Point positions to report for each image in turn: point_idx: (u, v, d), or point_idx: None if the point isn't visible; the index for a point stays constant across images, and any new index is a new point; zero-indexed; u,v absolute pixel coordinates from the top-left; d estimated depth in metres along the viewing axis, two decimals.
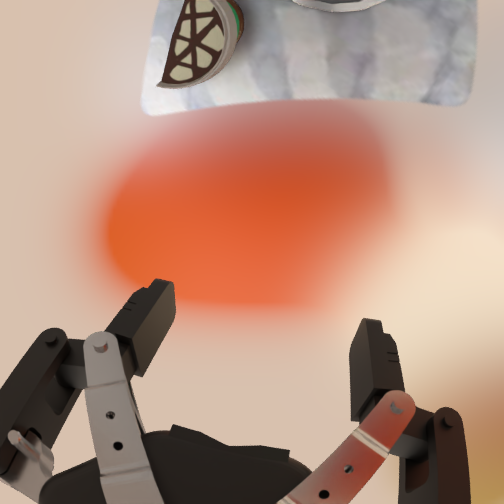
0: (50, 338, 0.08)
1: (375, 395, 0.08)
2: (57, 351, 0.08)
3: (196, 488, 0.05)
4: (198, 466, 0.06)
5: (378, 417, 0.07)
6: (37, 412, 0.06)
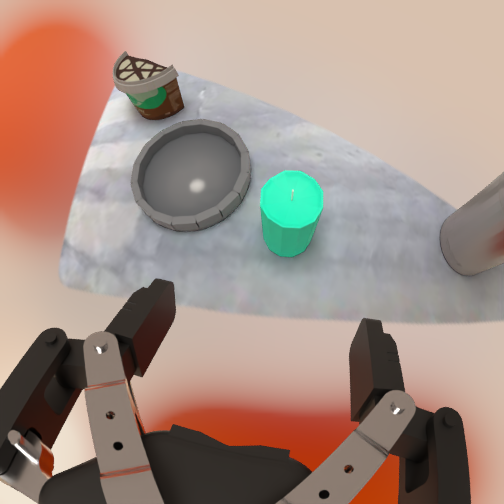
0: (50, 337, 0.08)
1: (375, 395, 0.08)
2: (57, 351, 0.08)
3: (196, 488, 0.05)
4: (198, 466, 0.06)
5: (378, 417, 0.07)
6: (37, 412, 0.06)
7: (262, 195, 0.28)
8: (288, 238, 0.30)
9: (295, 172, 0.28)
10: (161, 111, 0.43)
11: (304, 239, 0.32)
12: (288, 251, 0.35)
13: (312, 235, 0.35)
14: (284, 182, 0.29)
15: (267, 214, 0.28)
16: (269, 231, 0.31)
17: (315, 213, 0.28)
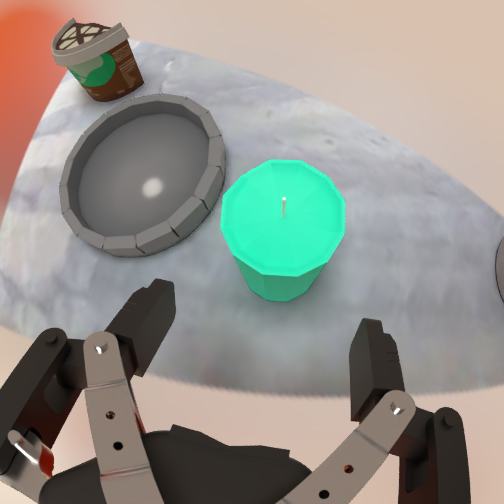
0: (50, 338, 0.08)
1: (375, 395, 0.08)
2: (57, 351, 0.08)
3: (196, 488, 0.05)
4: (198, 466, 0.06)
5: (378, 417, 0.07)
6: (37, 412, 0.06)
7: (225, 208, 0.15)
8: (276, 286, 0.17)
9: (291, 163, 0.15)
10: (112, 89, 0.29)
11: (306, 284, 0.18)
12: (278, 297, 0.21)
13: None
14: (269, 182, 0.15)
15: (232, 247, 0.14)
16: (242, 272, 0.17)
17: (330, 244, 0.14)
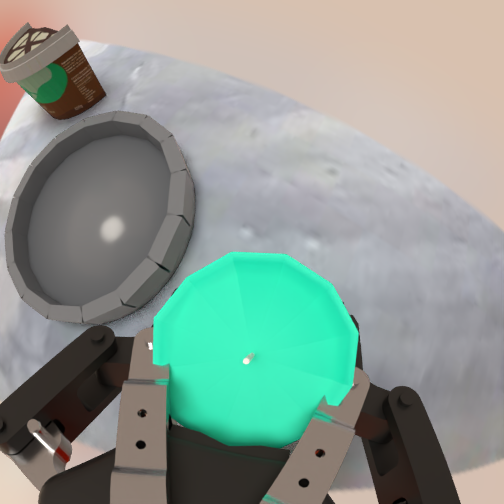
0: (97, 336, 0.09)
1: None
2: (106, 349, 0.08)
3: (196, 488, 0.05)
4: (198, 466, 0.06)
5: None
6: (66, 406, 0.07)
7: (158, 338, 0.08)
8: None
9: (268, 259, 0.09)
10: (67, 104, 0.23)
11: None
12: None
13: None
14: (232, 291, 0.09)
15: None
16: None
17: (327, 403, 0.08)
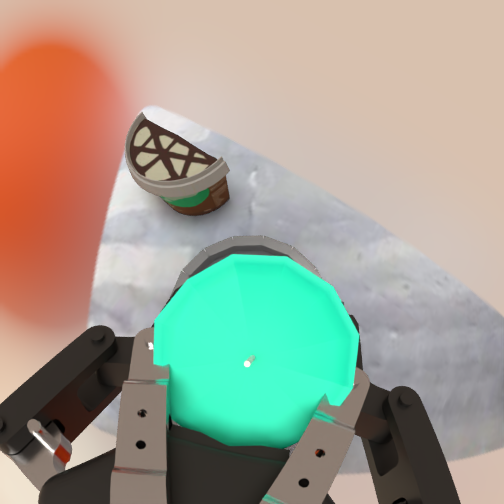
0: (97, 336, 0.09)
1: None
2: (106, 349, 0.08)
3: (196, 488, 0.05)
4: (198, 466, 0.06)
5: None
6: (66, 406, 0.07)
7: (159, 341, 0.08)
8: None
9: (268, 262, 0.09)
10: (199, 209, 0.34)
11: None
12: None
13: None
14: (232, 294, 0.09)
15: None
16: None
17: None
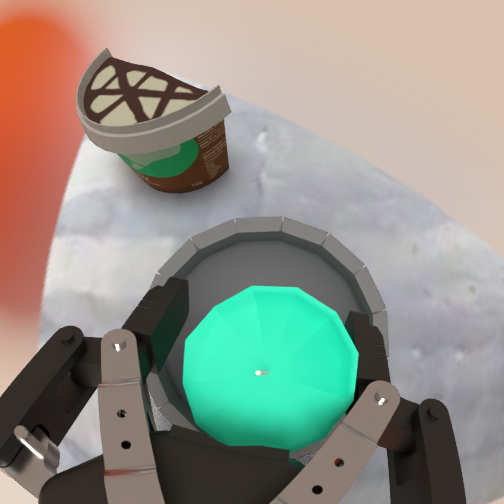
0: (66, 336, 0.08)
1: (360, 385, 0.09)
2: (74, 349, 0.08)
3: (196, 488, 0.05)
4: (198, 466, 0.06)
5: (361, 406, 0.08)
6: (47, 409, 0.07)
7: (188, 357, 0.10)
8: None
9: (282, 292, 0.10)
10: (185, 181, 0.22)
11: None
12: None
13: None
14: (252, 319, 0.10)
15: (195, 414, 0.09)
16: None
17: (331, 415, 0.09)
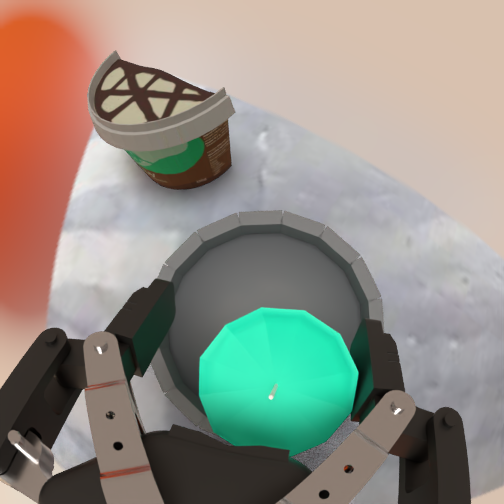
0: (50, 338, 0.08)
1: (375, 395, 0.08)
2: (57, 351, 0.08)
3: (196, 488, 0.05)
4: (198, 466, 0.06)
5: (378, 417, 0.07)
6: (37, 412, 0.06)
7: (203, 373, 0.11)
8: None
9: (290, 314, 0.11)
10: (190, 178, 0.23)
11: None
12: None
13: None
14: (261, 337, 0.11)
15: (212, 423, 0.10)
16: None
17: (332, 423, 0.10)
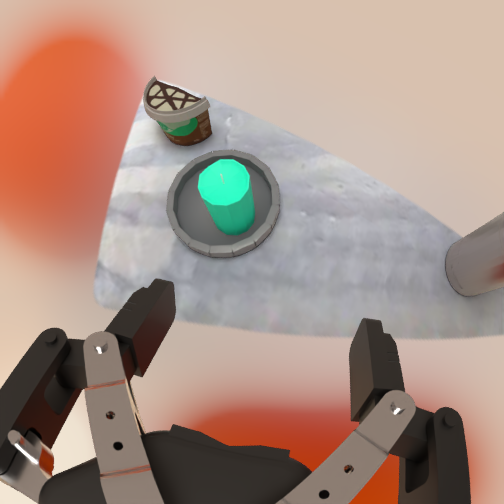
0: (50, 338, 0.08)
1: (375, 395, 0.08)
2: (57, 351, 0.08)
3: (196, 488, 0.05)
4: (198, 466, 0.06)
5: (378, 417, 0.07)
6: (37, 412, 0.06)
7: (200, 179, 0.34)
8: (223, 216, 0.36)
9: (228, 160, 0.34)
10: (191, 138, 0.47)
11: (239, 217, 0.38)
12: (230, 229, 0.41)
13: (252, 216, 0.41)
14: (219, 169, 0.35)
15: (201, 194, 0.33)
16: (208, 210, 0.37)
17: (242, 193, 0.33)
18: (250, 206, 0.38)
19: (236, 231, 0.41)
